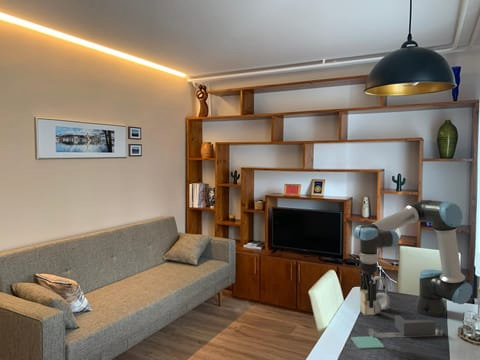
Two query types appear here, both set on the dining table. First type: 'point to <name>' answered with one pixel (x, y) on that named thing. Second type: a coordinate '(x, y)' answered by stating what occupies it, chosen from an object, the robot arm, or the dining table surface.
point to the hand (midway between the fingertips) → (367, 311)
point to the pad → (367, 342)
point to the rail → (399, 334)
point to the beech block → (365, 302)
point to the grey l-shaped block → (415, 326)
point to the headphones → (382, 297)
